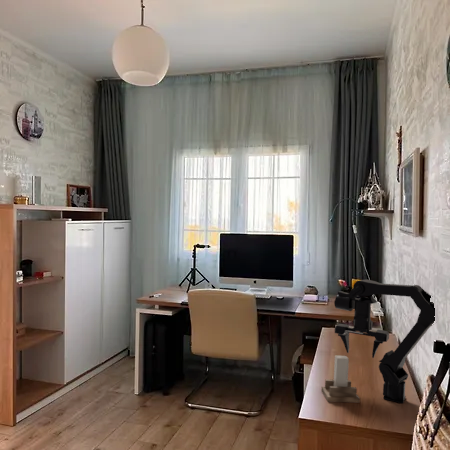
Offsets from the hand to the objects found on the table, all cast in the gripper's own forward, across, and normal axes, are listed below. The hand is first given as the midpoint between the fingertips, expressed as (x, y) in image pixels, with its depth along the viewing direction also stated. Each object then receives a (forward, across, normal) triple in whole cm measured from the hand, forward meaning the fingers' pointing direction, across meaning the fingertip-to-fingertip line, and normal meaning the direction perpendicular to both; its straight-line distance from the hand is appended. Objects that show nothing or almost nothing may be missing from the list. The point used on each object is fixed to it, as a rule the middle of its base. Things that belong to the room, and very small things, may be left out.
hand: (360, 355), depth 160 cm
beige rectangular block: (+10, +4, +13) cm, 17 cm away
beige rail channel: (+12, +4, +13) cm, 18 cm away
